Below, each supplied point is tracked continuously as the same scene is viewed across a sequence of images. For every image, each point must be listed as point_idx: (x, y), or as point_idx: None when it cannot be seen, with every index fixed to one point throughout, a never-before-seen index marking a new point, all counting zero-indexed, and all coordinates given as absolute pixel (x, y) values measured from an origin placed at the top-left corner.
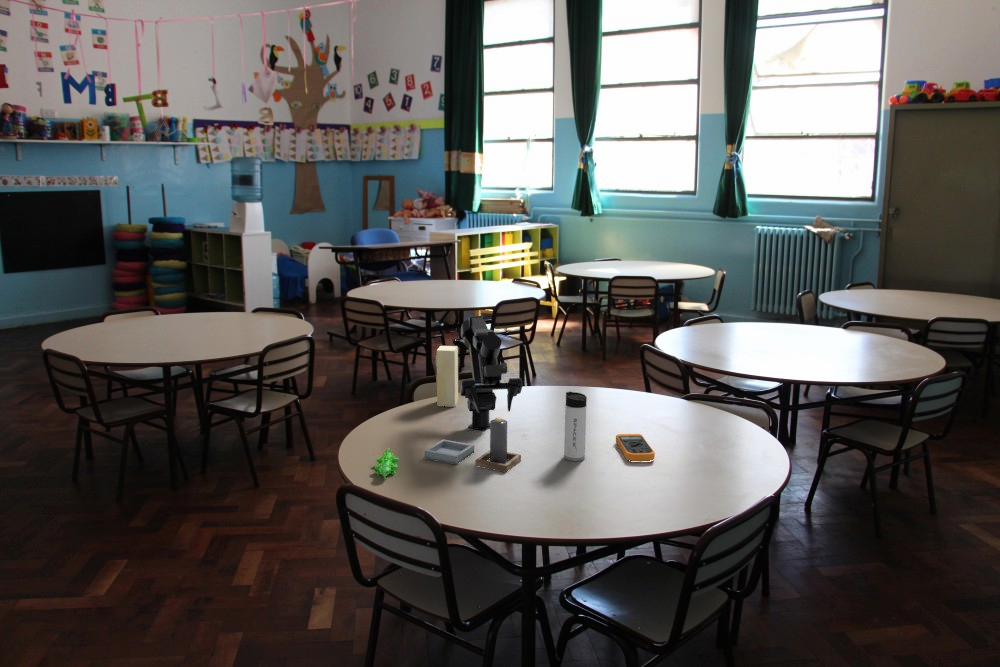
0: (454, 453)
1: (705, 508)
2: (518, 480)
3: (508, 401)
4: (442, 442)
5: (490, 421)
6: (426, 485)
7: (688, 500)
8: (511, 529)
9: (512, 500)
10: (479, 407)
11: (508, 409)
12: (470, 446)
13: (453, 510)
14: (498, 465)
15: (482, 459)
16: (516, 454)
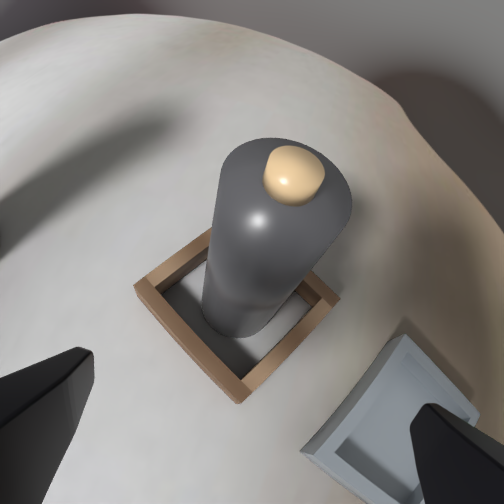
0: (386, 429)
1: (25, 40)
2: (223, 162)
3: (29, 420)
4: (419, 501)
5: (349, 213)
6: (451, 230)
7: (16, 52)
8: (307, 55)
9: (279, 99)
10: (447, 421)
11: (86, 377)
12: (334, 440)
13: (392, 121)
14: None
15: (306, 314)
16: (150, 295)
